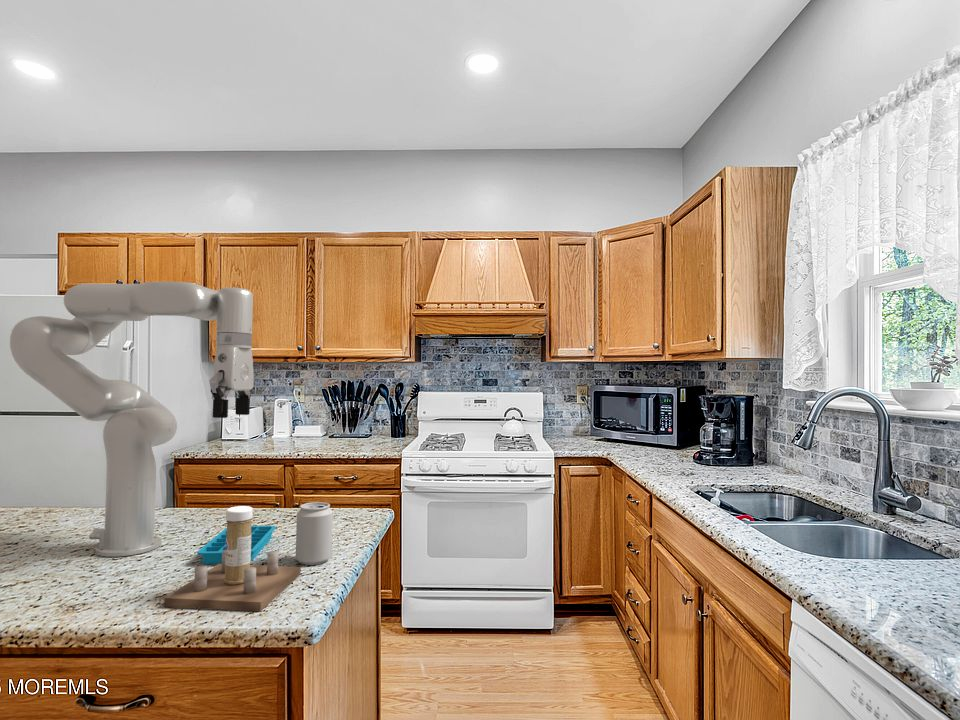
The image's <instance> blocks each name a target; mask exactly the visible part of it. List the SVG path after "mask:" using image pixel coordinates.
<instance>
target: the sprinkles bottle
mask: <svg viewBox="0 0 960 720" xmlns="http://www.w3.org/2000/svg"><path fill="white" fill-rule="evenodd" d="M253 513H254V510H253V507H251V506H248V505H238V506H232V507H229V508H227V509H226V511H225V520H226V521H225V522H226V528H227V537H226V554H225V578H224V582H225V583H226V584H230V585H236V584H241V583H244V569H245V568H248V567H250V565H251V562H250V561H251V526H252V520H253Z"/></svg>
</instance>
